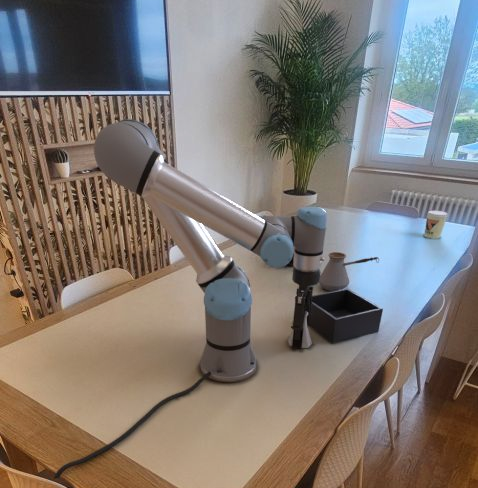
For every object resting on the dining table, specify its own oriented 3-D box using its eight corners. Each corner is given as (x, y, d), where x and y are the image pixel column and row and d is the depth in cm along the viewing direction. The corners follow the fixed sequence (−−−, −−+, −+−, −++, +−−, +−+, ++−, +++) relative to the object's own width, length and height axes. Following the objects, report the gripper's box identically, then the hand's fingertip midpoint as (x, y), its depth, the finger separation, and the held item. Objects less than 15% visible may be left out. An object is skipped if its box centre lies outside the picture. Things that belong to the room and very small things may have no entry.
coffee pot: (312, 288, 166) (316, 250, 157) (326, 279, 173) (330, 242, 165) (365, 302, 155) (373, 262, 147) (377, 292, 163) (385, 253, 155)
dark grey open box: (332, 343, 130) (335, 319, 126) (300, 319, 144) (302, 297, 139) (378, 331, 137) (383, 308, 132) (344, 310, 150) (347, 288, 146)
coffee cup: (418, 235, 227) (423, 211, 220) (431, 233, 230) (437, 209, 224) (432, 240, 220) (438, 215, 213) (445, 237, 223) (452, 213, 216)
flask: (311, 350, 127) (314, 319, 121) (286, 347, 128) (288, 317, 123) (312, 338, 133) (315, 308, 127) (288, 336, 134) (291, 306, 129)
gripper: (313, 282, 109) (305, 360, 121) (327, 257, 125) (318, 328, 137) (284, 278, 111) (278, 355, 123) (301, 254, 127) (295, 325, 139)
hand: (299, 341), depth 130 cm, fingers closed on flask, 7 cm apart
